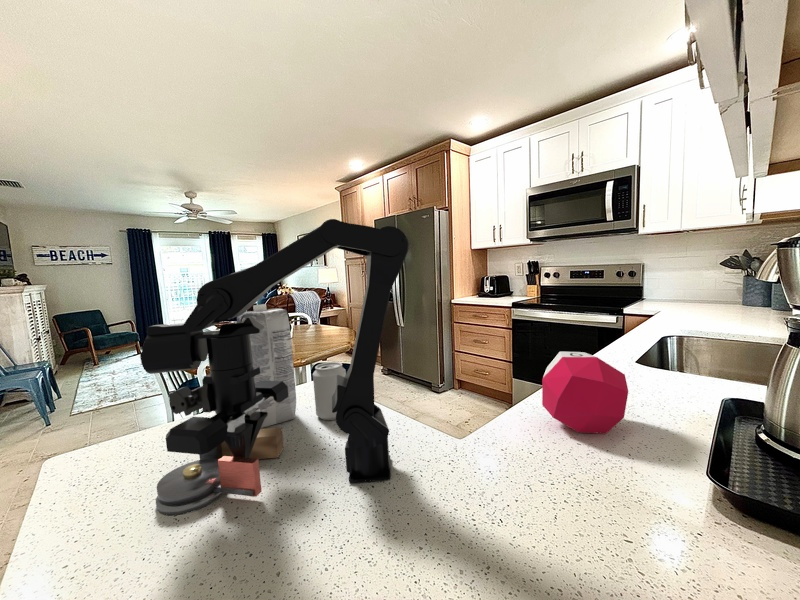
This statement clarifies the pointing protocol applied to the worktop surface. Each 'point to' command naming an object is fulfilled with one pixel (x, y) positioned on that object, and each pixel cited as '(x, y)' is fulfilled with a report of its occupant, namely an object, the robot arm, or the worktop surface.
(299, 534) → the worktop surface
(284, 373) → the juice carton
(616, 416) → the decorative object
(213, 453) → the iron eye
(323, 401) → the can
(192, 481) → the handwheel
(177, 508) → the disc
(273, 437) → the brown rectangular bar
